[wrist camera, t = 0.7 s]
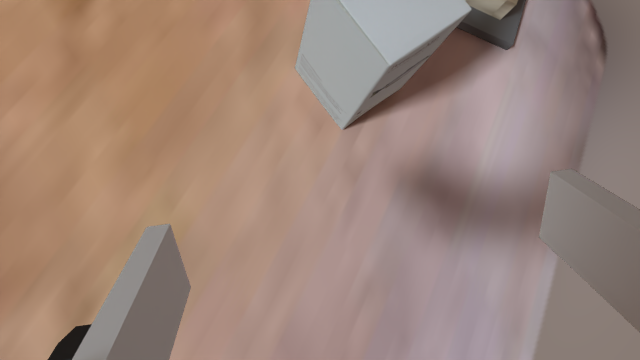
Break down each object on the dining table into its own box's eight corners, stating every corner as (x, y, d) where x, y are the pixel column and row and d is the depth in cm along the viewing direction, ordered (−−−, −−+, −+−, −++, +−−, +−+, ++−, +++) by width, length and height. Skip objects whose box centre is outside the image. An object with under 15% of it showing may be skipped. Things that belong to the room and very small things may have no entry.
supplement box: (341, 133, 35) (387, 68, 22) (292, 67, 35) (312, -32, 23) (402, 90, 36) (476, 9, 24) (355, 29, 37) (405, -82, 24)
